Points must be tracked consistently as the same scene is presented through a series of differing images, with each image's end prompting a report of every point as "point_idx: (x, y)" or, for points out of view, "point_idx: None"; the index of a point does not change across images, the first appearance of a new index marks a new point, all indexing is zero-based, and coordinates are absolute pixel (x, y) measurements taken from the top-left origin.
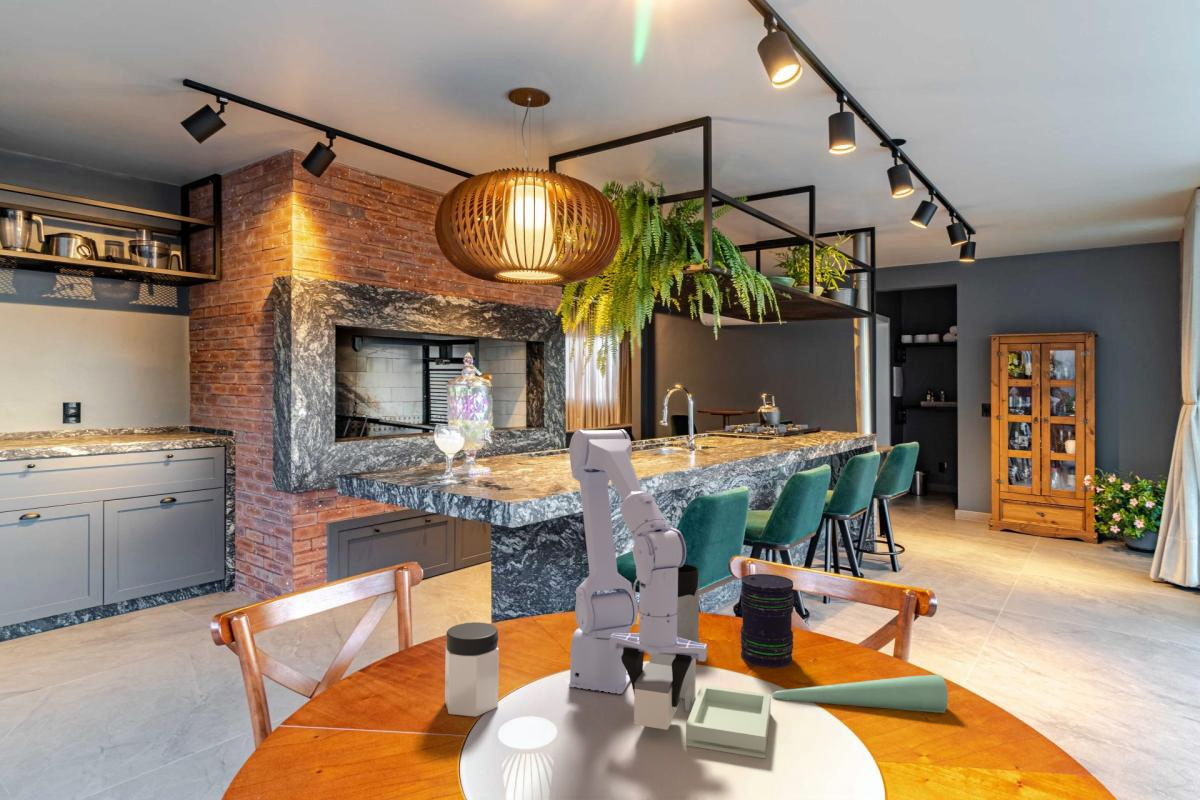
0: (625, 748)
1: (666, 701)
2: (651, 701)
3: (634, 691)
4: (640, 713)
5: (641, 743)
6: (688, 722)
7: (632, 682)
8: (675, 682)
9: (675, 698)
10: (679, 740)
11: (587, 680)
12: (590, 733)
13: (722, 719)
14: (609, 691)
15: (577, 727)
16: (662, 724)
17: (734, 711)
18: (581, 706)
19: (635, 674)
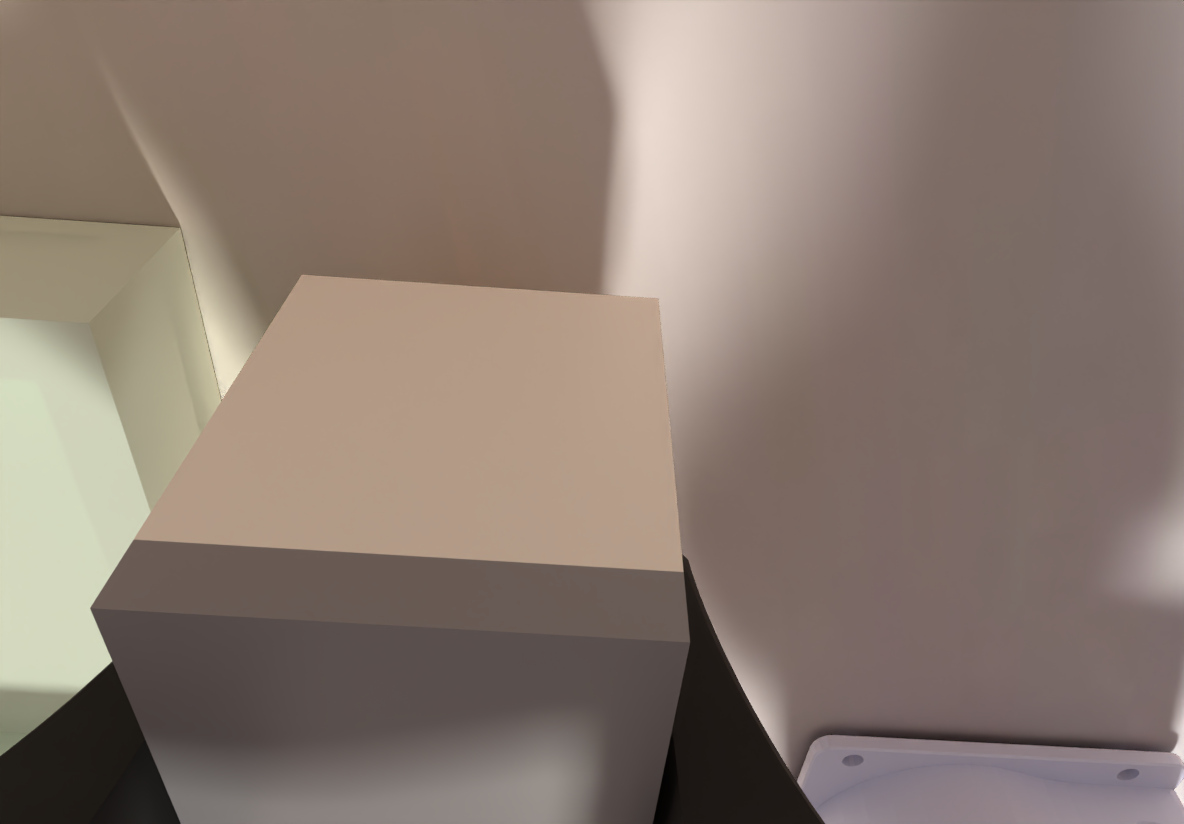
0: (707, 31)
1: (210, 460)
2: (434, 455)
3: (700, 625)
4: (590, 363)
5: (568, 167)
6: (83, 364)
7: (739, 715)
8: (87, 755)
9: None
10: (264, 295)
11: (1068, 808)
12: (1063, 225)
13: (27, 578)
14: (900, 745)
15: (1180, 296)
16: (347, 302)
17: (9, 675)
18: (1107, 579)
19: (707, 821)
